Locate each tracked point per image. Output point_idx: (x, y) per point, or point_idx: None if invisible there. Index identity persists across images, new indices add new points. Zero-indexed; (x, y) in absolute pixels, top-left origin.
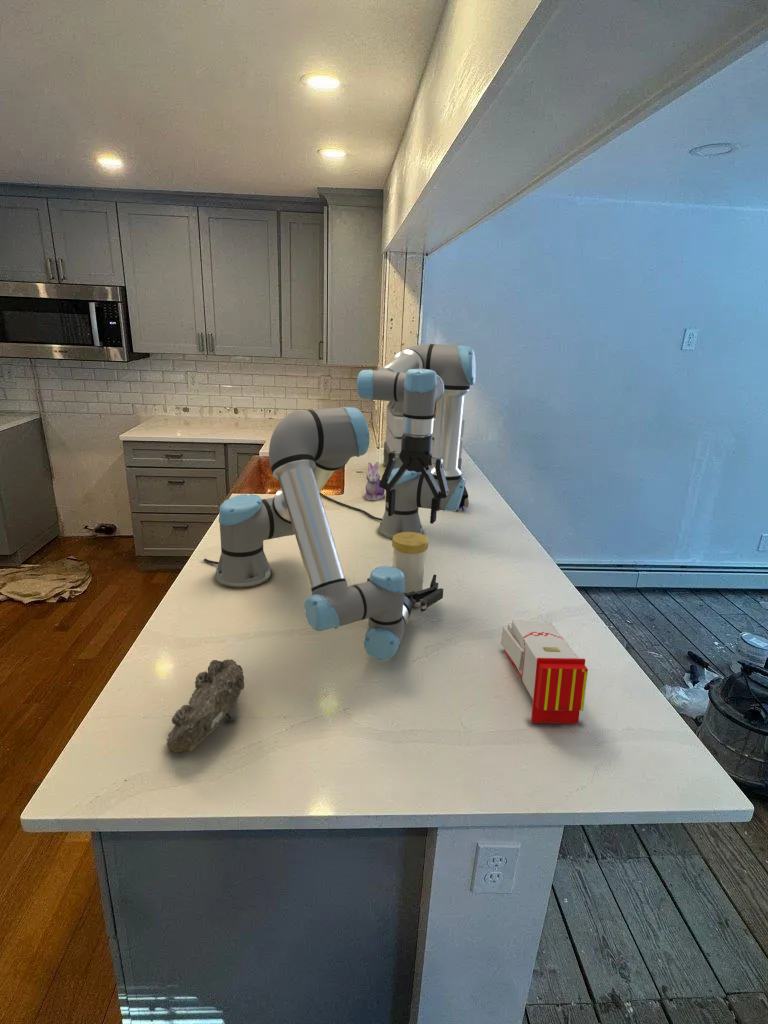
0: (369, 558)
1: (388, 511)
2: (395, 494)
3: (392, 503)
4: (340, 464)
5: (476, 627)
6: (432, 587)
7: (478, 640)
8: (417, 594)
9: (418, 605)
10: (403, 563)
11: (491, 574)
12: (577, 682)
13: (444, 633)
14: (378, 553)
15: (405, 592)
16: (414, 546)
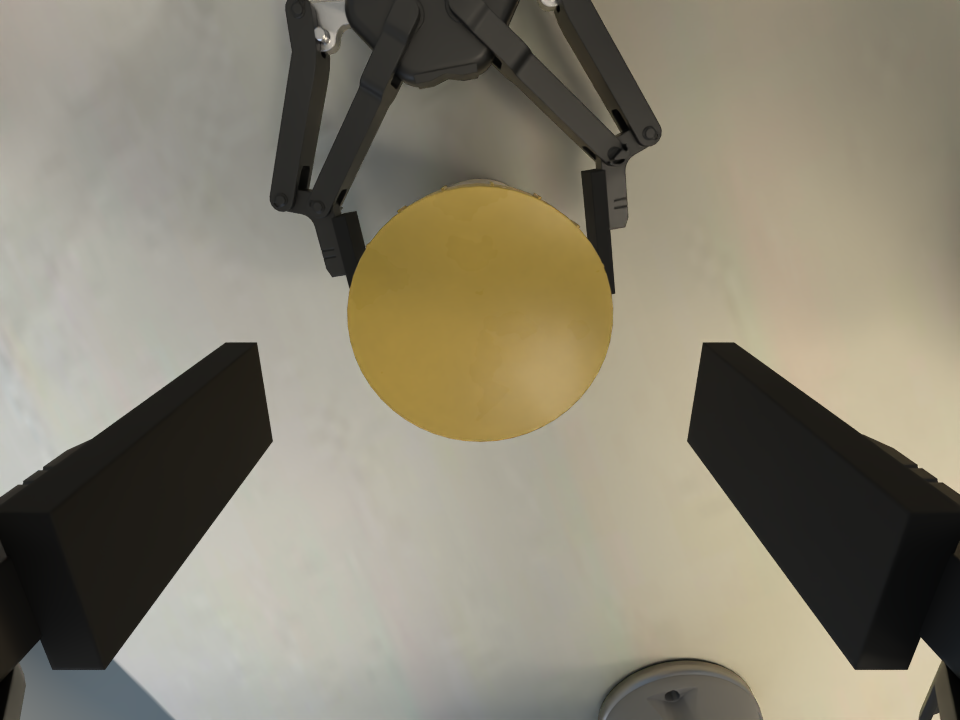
0: (726, 498)
1: (755, 358)
2: (802, 597)
3: (765, 439)
4: None
5: (157, 164)
6: (326, 199)
7: (105, 64)
8: (361, 84)
9: (326, 3)
10: None
11: (276, 563)
12: None
13: (242, 51)
14: (704, 546)
15: (463, 183)
16: (404, 210)
